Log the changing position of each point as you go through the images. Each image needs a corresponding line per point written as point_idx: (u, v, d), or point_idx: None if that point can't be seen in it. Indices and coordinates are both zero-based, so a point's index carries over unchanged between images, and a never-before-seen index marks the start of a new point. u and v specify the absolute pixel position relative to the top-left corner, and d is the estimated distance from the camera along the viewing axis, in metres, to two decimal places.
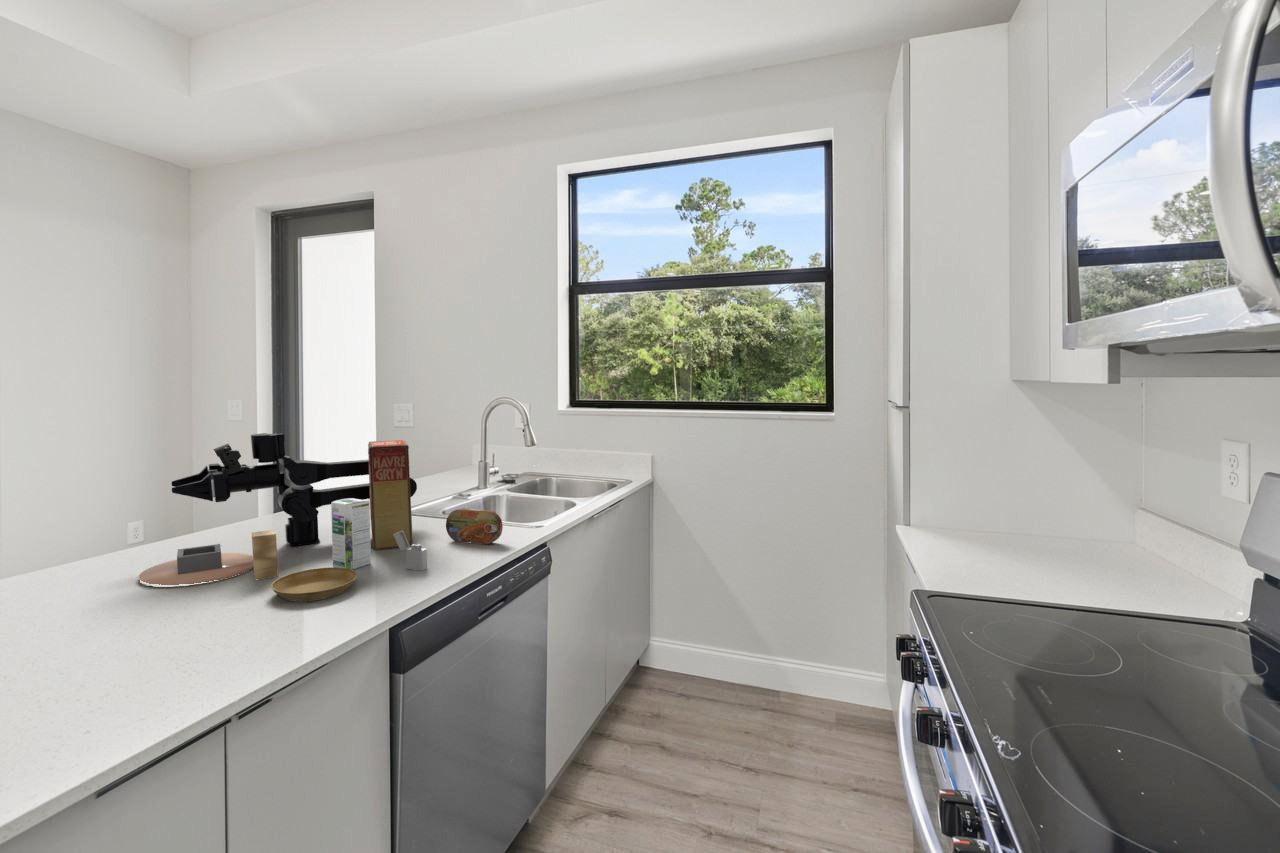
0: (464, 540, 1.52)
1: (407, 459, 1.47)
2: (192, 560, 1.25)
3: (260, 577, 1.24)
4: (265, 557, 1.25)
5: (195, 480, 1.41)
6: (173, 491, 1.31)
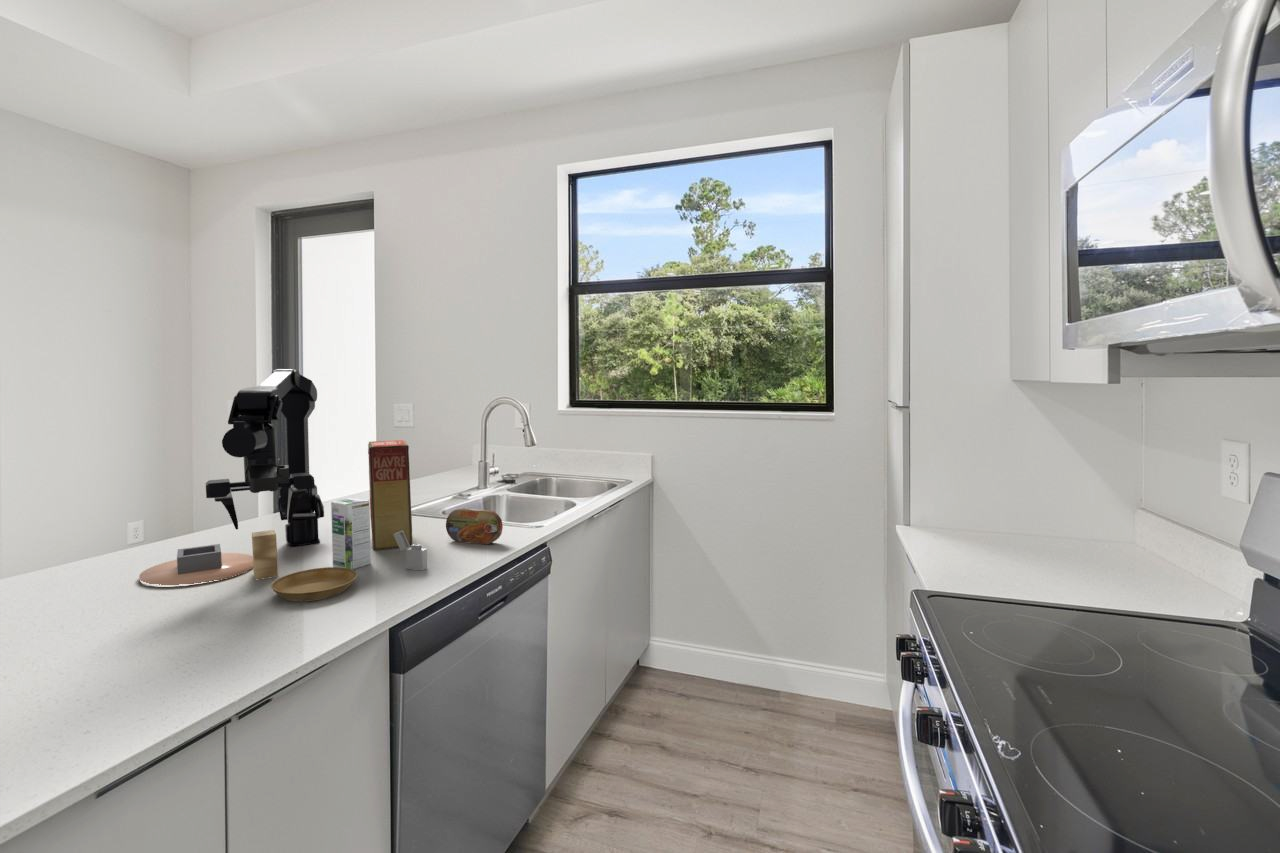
0: (464, 540, 1.52)
1: (407, 459, 1.47)
2: (192, 560, 1.25)
3: (260, 577, 1.24)
4: (265, 557, 1.25)
5: None
6: None
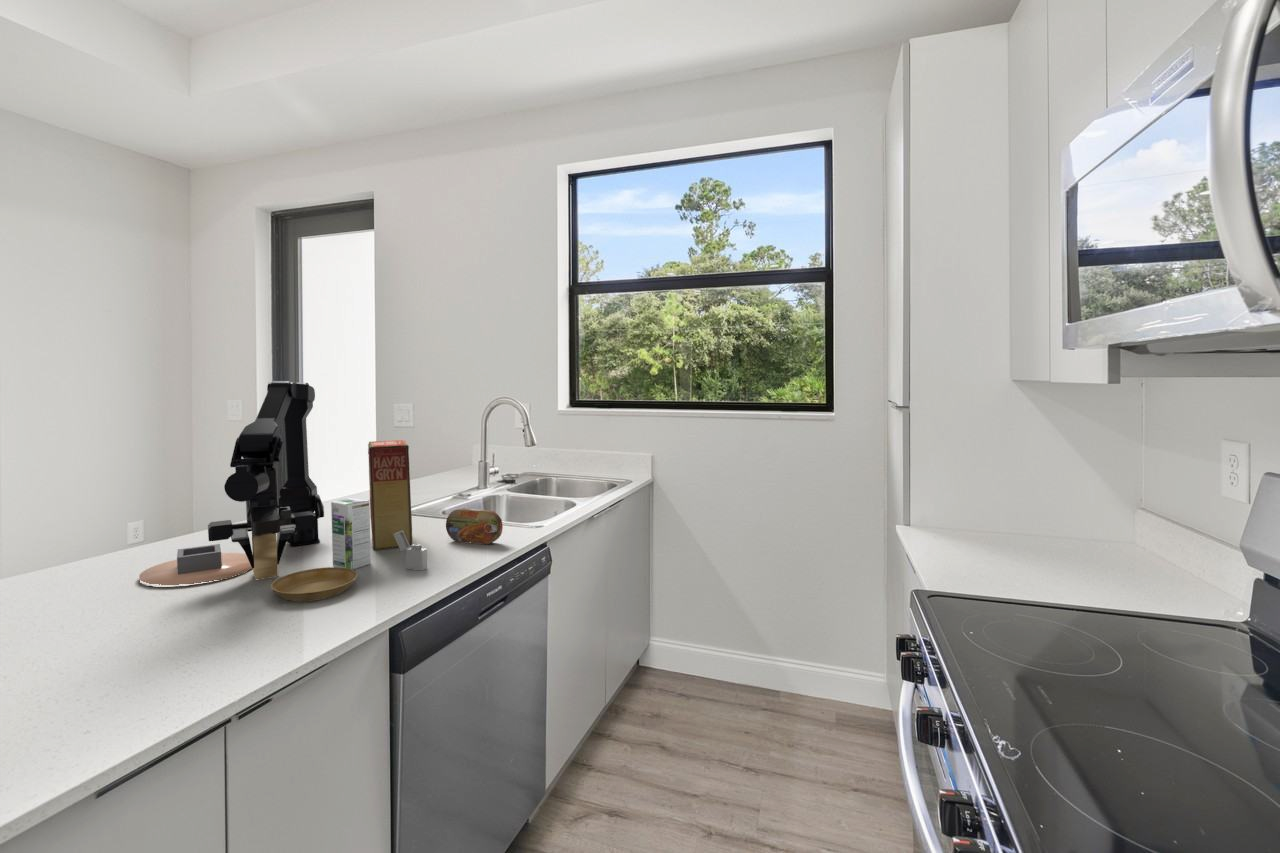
0: (464, 540, 1.52)
1: (407, 459, 1.47)
2: (192, 560, 1.25)
3: (260, 577, 1.24)
4: (265, 557, 1.25)
5: None
6: (278, 562, 1.28)
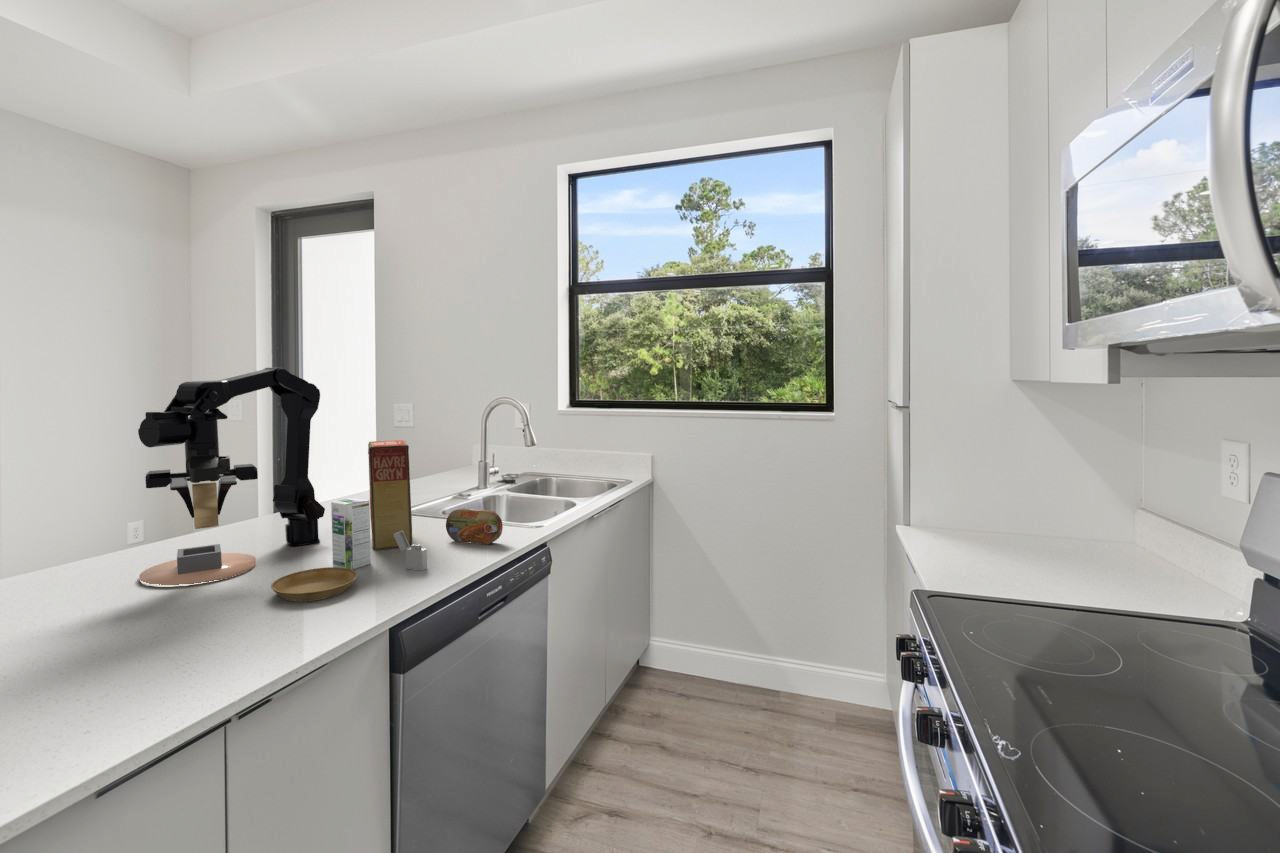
0: (464, 540, 1.52)
1: (407, 459, 1.47)
2: (192, 560, 1.25)
3: (200, 526, 1.25)
4: (205, 506, 1.26)
5: None
6: (219, 513, 1.29)
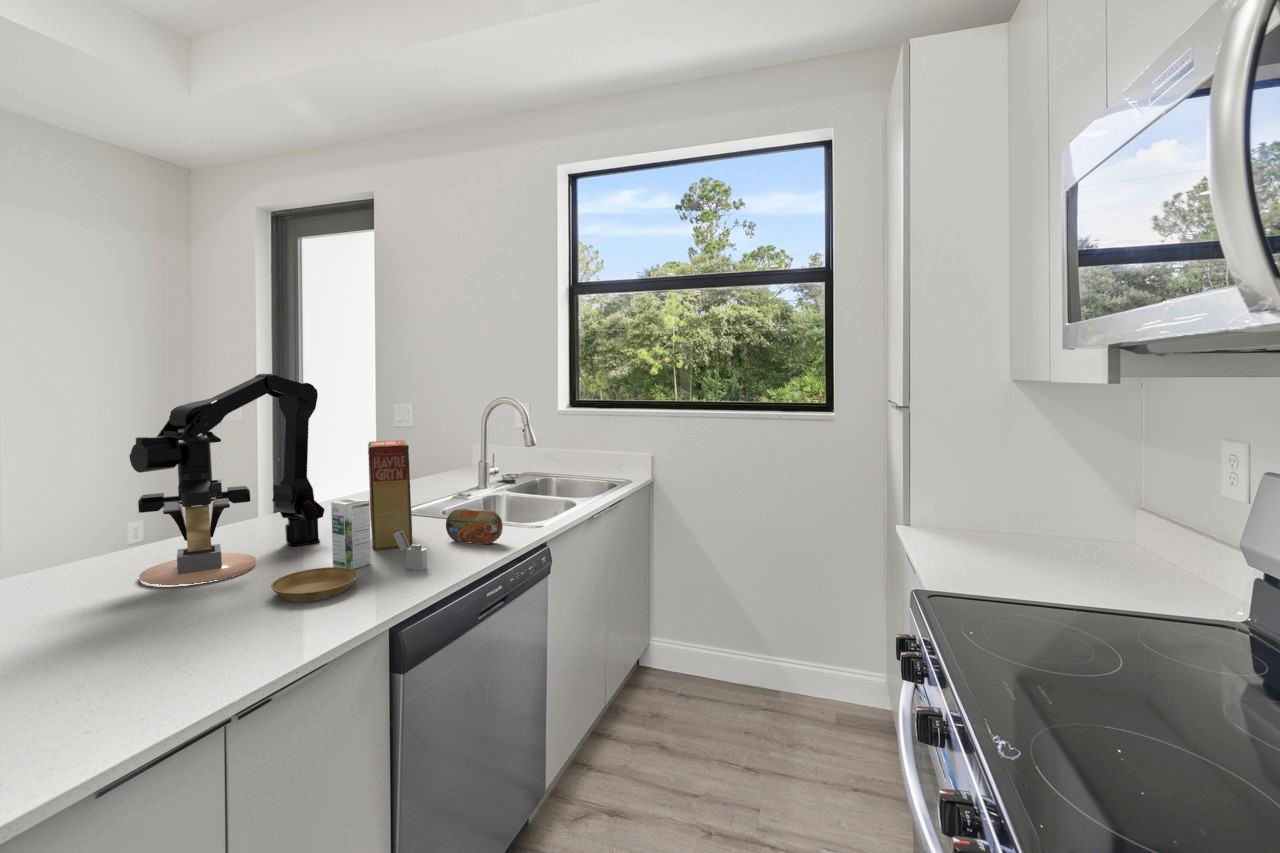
0: (464, 540, 1.52)
1: (407, 459, 1.47)
2: (192, 560, 1.25)
3: (193, 549, 1.26)
4: (198, 529, 1.27)
5: (183, 519, 1.27)
6: (212, 535, 1.30)
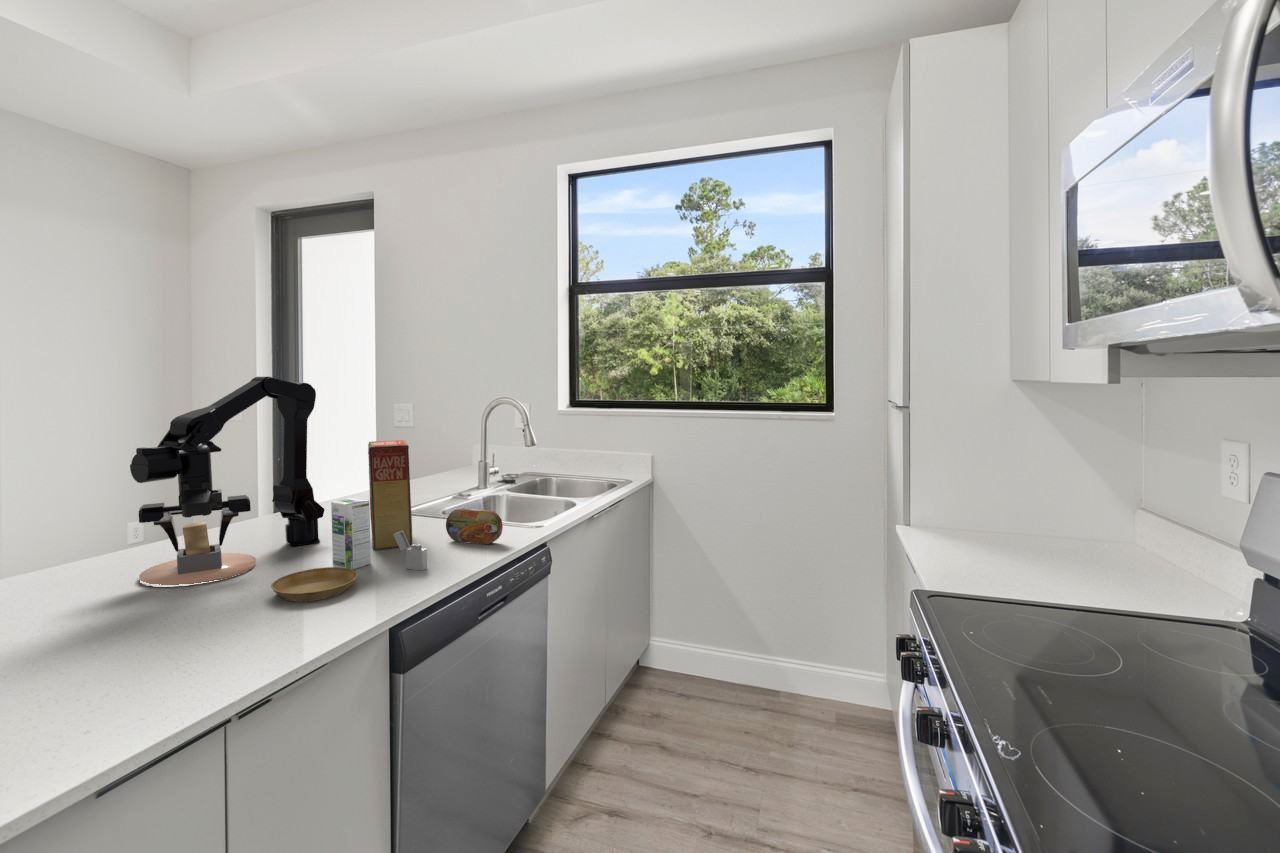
0: (464, 540, 1.52)
1: (407, 459, 1.47)
2: (192, 560, 1.25)
3: None
4: (197, 547, 1.27)
5: (174, 530, 1.26)
6: (221, 543, 1.31)
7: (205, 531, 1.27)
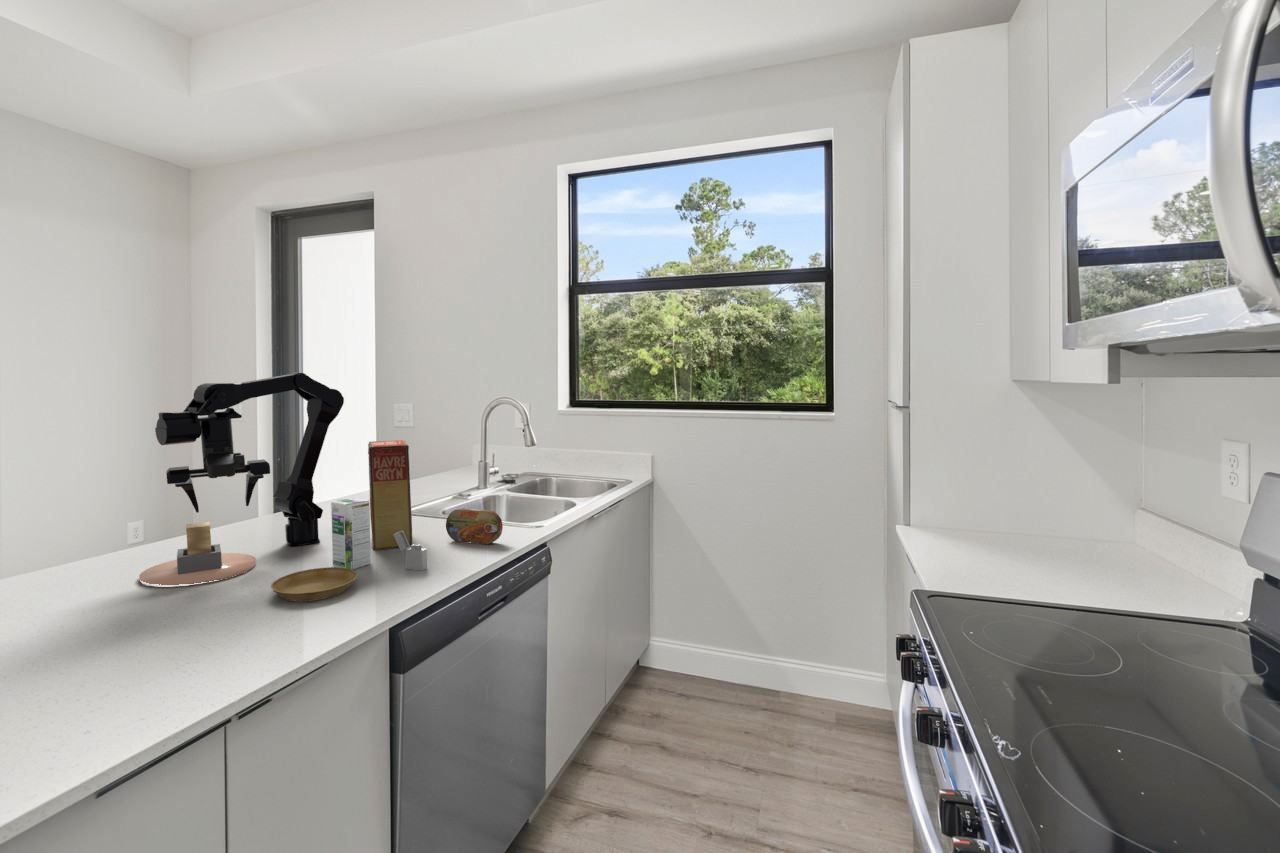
0: (464, 540, 1.52)
1: (407, 459, 1.47)
2: (192, 560, 1.25)
3: None
4: (199, 548, 1.27)
5: None
6: None
7: (208, 532, 1.28)
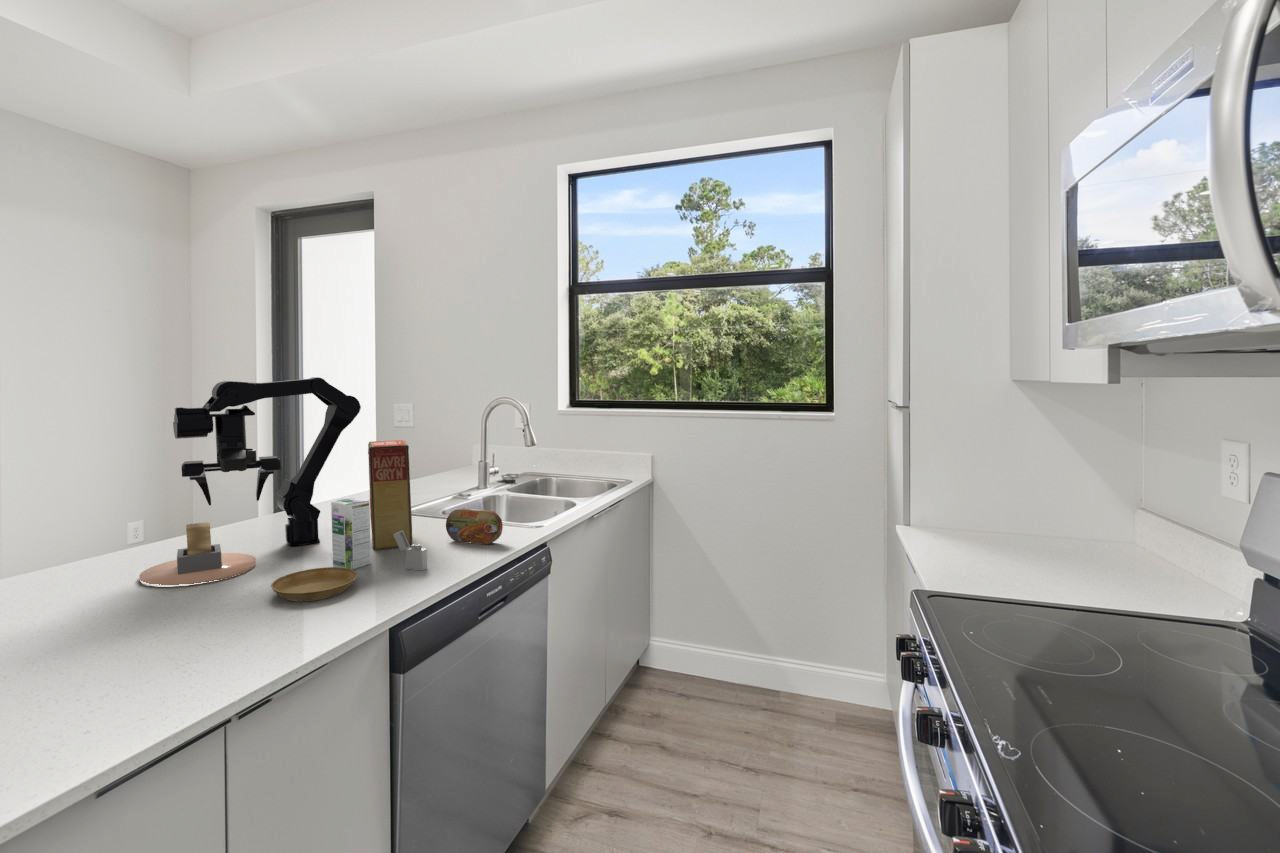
0: (464, 540, 1.52)
1: (407, 459, 1.47)
2: (192, 560, 1.25)
3: None
4: (199, 548, 1.27)
5: None
6: (258, 499, 1.44)
7: (208, 532, 1.28)
